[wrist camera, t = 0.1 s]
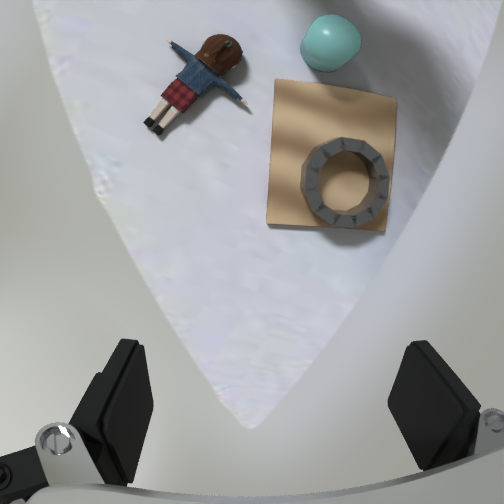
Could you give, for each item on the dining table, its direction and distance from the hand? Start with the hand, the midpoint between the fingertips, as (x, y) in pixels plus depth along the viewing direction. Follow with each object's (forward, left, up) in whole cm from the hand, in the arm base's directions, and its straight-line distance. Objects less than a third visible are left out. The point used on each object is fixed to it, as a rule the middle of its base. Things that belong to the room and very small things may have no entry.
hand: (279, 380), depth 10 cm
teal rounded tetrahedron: (-22, +8, -31) cm, 39 cm away
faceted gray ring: (-5, +11, -30) cm, 32 cm away
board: (-8, +10, -31) cm, 34 cm away
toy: (-16, -8, -32) cm, 36 cm away
